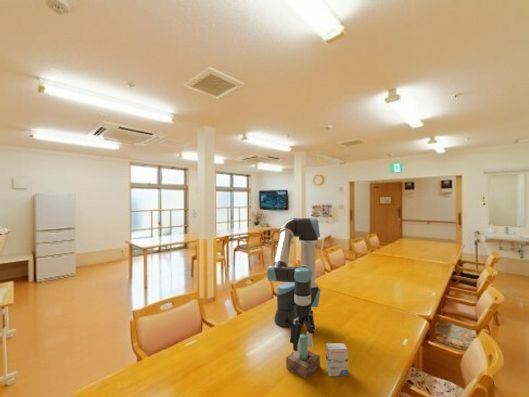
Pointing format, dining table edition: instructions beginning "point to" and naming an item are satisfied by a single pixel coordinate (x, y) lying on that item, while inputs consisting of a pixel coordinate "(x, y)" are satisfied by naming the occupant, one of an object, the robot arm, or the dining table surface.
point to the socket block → (303, 364)
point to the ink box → (337, 359)
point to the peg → (303, 347)
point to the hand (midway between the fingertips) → (303, 351)
